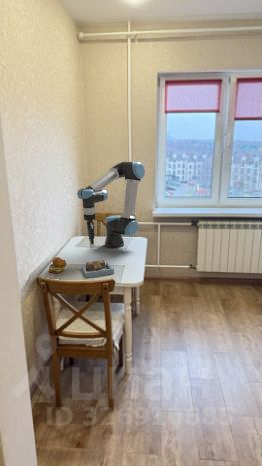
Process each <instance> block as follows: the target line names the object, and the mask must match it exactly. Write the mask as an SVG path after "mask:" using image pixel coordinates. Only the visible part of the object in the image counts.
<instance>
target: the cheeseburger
mask: <svg viewBox="0 0 262 466" xmlns="http://www.w3.org/2000/svg"><path fill="white" fill-rule="evenodd" d="M51 262H52V263H51V264H50V265H49V267H48V269H47V270H48V272H50V273H51V274H61V273H63V272H64V271H65V268H66V266H67V262H66V260H65V259H62V258H61V257H59V256H56V257H53V259H52V260H51Z"/></svg>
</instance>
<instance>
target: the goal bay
mask: <svg viewBox="0 0 262 466" xmlns="http://www.w3.org/2000/svg"><path fill="white" fill-rule="evenodd" d="M105 267H107V268H104V269H102V270H99V271H94V270H91V271H88V270H87V269H86V266H84V265H81V269H82V271H83V272H82V273H83V274H84V276H85V278H94V277H95V278H96V277H99V276H106V275H114V274H115V268H114V267H112V265H111V264H110V263H109V262H108V261H106V262H105Z"/></svg>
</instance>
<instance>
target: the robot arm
mask: <svg viewBox="0 0 262 466" xmlns="http://www.w3.org/2000/svg"><path fill="white" fill-rule="evenodd" d="M145 171H146V169H145V166H144V164H143V163H142V162H139V161H121V162H119V163H117V164H115V165H113V166H112V167H111V168H109V170H108V171H107V172H106V173H104V174H103V175H102V176H101V177H99V178H98V179H96V180H95V181H93V182H92V183H91V184H89V185H88V186H86V187H85V188H84V187H83V188H79V189H78V190H77V193H76V194H77V195H76V196H77V197H78V198H79V200H81V201H82V211H83V219H84V221H87V222H86V227H87V235H88V240H89V249H95V225H94V224H95V222H93V221H94V220H96V205H95V204H96V203H100V202H104V201H106V200H107V199H108V197H109V193H108V191H107V190H105V189H104V188H106V187H107V186H108V185H110V184H112V182H114V181H117V180H119V179H124V181H125V183H126V186H125V192H124V193H125V194H124V201H123V209H122V210H123V212H122V215H110V216H108V217H106V218H105V228H106V237H105V241H104V246H105V248H109V249H110V248H111V249H116V248H121V247H123V246H124V245H125V240H124V238H123V235H124V236H130V237H133V236H134V235H135V234H137V232H138V230H139V222H138V221H137V218H136V216H135V212H136V205H137V196H138V188H139V183H141V182H142V181H141V179H143V178H144V177H145V174H146V172H145Z"/></svg>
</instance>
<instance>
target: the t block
mask: <svg viewBox="0 0 262 466" xmlns="http://www.w3.org/2000/svg"><path fill="white" fill-rule="evenodd" d="M85 269H86V271H99V270H103V269H106V262H105V260H104V259H101V260H94V261H86V262H85Z"/></svg>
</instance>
